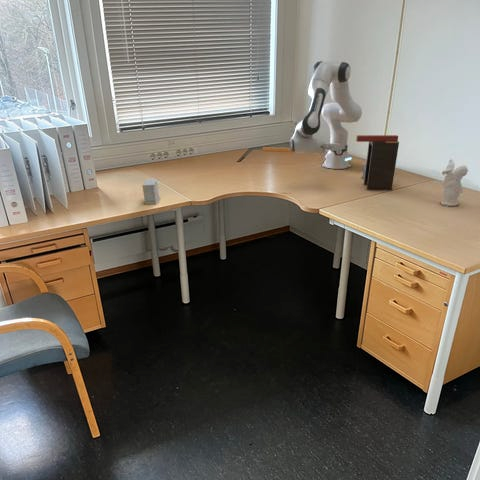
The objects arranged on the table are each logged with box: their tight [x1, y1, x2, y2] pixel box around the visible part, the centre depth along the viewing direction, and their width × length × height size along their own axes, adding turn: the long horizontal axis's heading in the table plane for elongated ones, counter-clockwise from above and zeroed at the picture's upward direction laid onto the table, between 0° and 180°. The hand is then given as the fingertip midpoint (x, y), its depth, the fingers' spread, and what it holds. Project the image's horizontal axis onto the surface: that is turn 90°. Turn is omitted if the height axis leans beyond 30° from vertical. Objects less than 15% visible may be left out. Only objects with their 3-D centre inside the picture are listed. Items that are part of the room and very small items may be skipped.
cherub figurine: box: [440, 158, 469, 207], centre depth 246 cm, size 12×12×22 cm
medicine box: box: [361, 163, 366, 180], centre depth 291 cm, size 8×4×9 cm, turn 47°
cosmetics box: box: [142, 179, 160, 205], centre depth 260 cm, size 10×6×10 cm, turn 178°
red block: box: [355, 134, 399, 143], centre depth 262 cm, size 3×22×3 cm, turn 86°
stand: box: [363, 141, 400, 191], centre depth 272 cm, size 12×14×26 cm
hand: (341, 147), depth 272 cm, fingers open, 8 cm apart
